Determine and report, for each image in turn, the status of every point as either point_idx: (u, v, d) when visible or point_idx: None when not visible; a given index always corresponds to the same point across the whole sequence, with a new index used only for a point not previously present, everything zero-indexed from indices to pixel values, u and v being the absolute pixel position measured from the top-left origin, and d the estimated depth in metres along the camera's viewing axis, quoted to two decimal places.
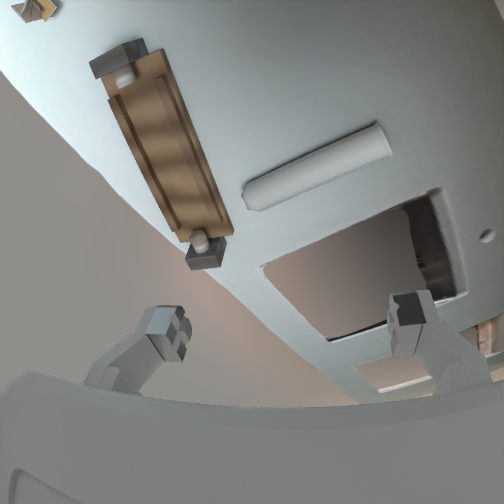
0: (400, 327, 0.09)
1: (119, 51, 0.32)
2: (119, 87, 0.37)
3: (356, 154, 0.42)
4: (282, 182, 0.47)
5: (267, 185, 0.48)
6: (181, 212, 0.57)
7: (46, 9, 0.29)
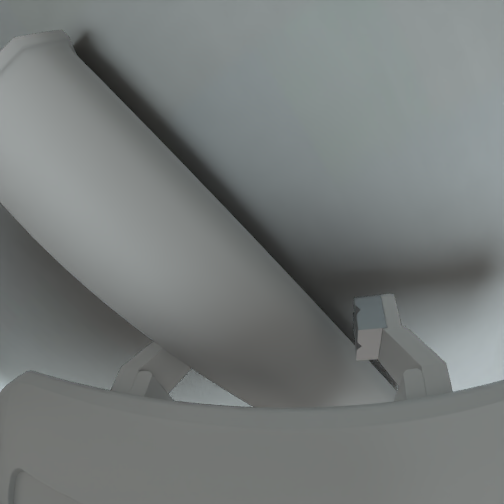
0: (359, 331, 0.09)
1: None
2: None
3: (54, 241, 0.08)
4: None
5: None
6: None
7: None
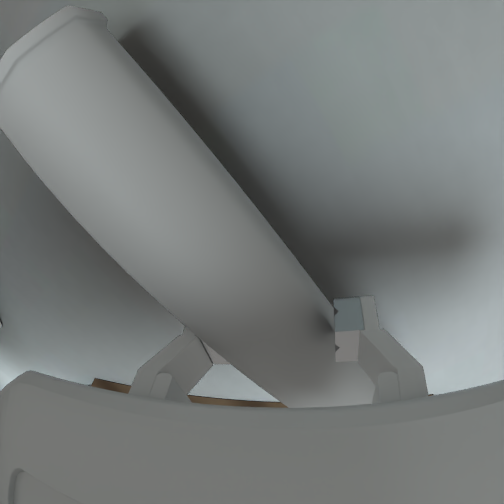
0: (336, 333, 0.10)
1: None
2: None
3: (80, 202, 0.08)
4: None
5: None
6: None
7: None
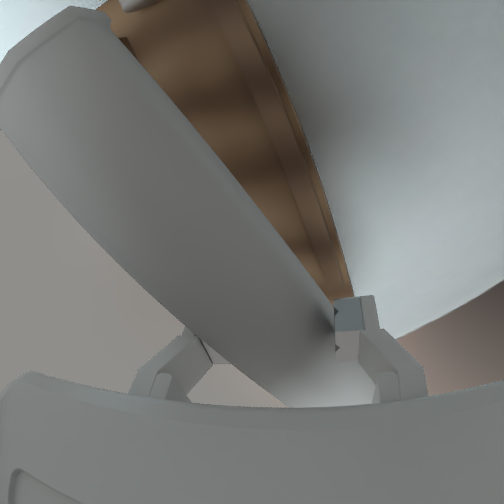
0: (336, 333, 0.10)
1: None
2: (126, 2, 0.14)
3: (84, 207, 0.08)
4: None
5: None
6: None
7: None
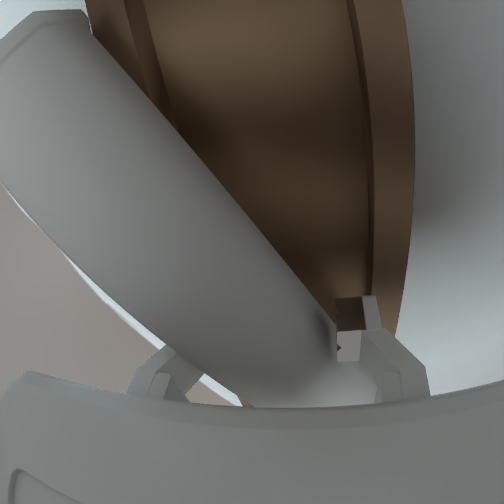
0: (338, 333, 0.10)
1: None
2: None
3: (60, 231, 0.07)
4: None
5: None
6: None
7: None
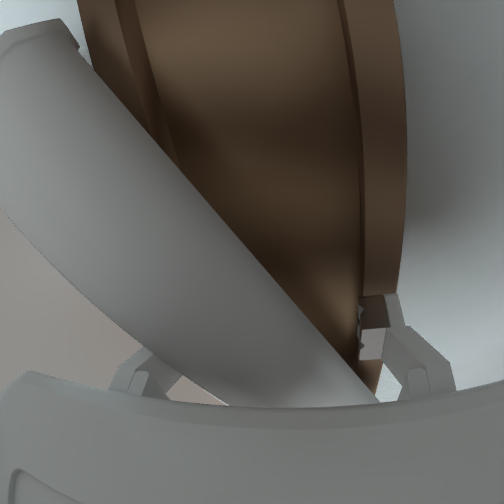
0: (363, 331, 0.09)
1: None
2: None
3: (44, 242, 0.07)
4: None
5: None
6: None
7: None
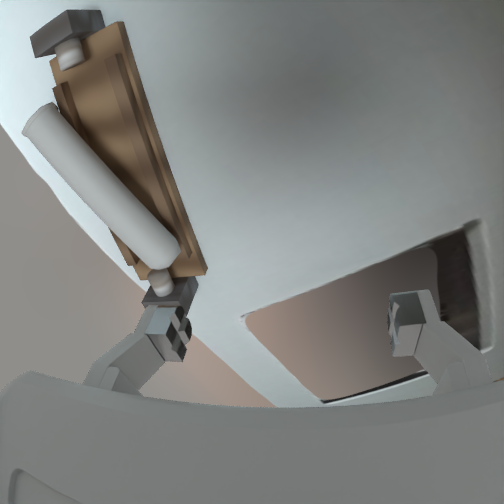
0: (400, 327, 0.09)
1: (63, 18, 0.20)
2: (61, 68, 0.25)
3: (48, 156, 0.29)
4: (113, 231, 0.34)
5: None
6: None
7: None
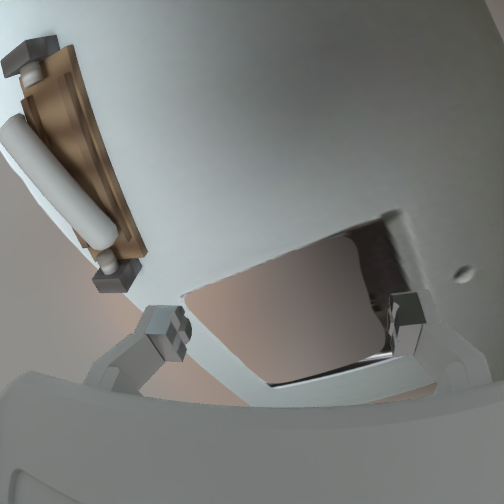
0: (400, 327, 0.09)
1: (23, 47, 0.25)
2: (24, 86, 0.29)
3: (16, 157, 0.33)
4: None
5: None
6: None
7: None
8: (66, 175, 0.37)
